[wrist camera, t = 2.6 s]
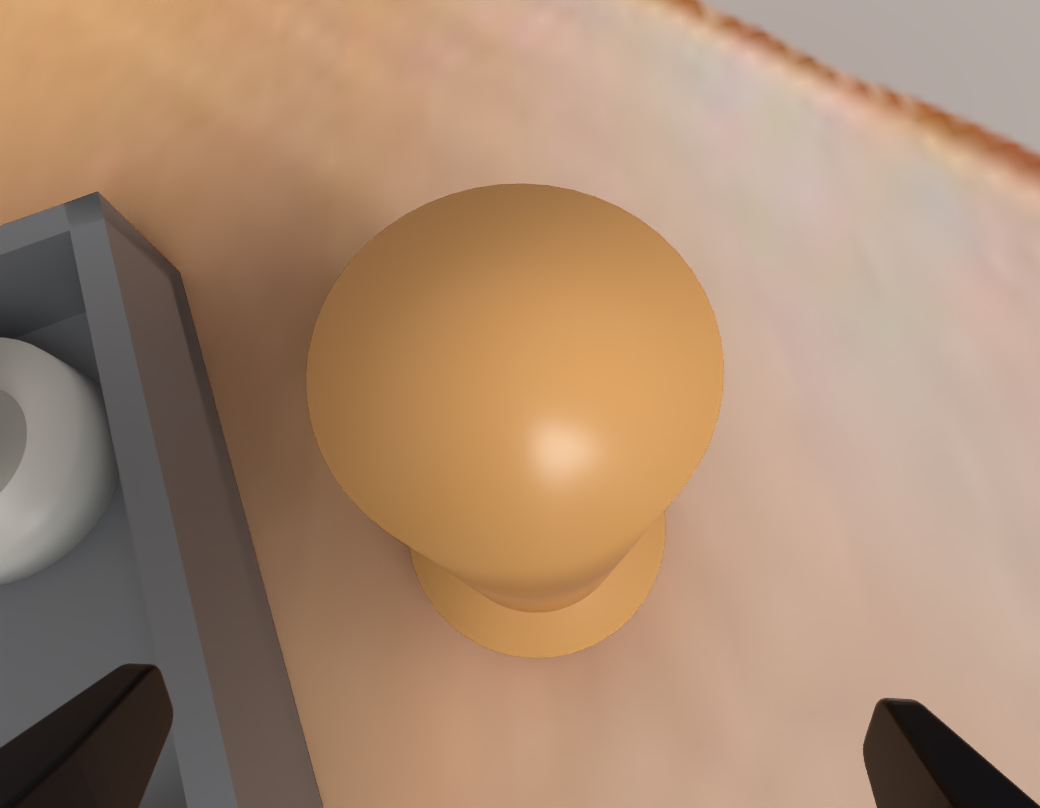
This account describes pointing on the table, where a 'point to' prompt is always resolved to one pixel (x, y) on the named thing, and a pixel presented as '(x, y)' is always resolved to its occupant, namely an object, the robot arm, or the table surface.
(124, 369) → the grey storage tray
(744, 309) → the table surface
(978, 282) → the table surface
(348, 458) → the mushroom shaped handle
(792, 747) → the table surface
